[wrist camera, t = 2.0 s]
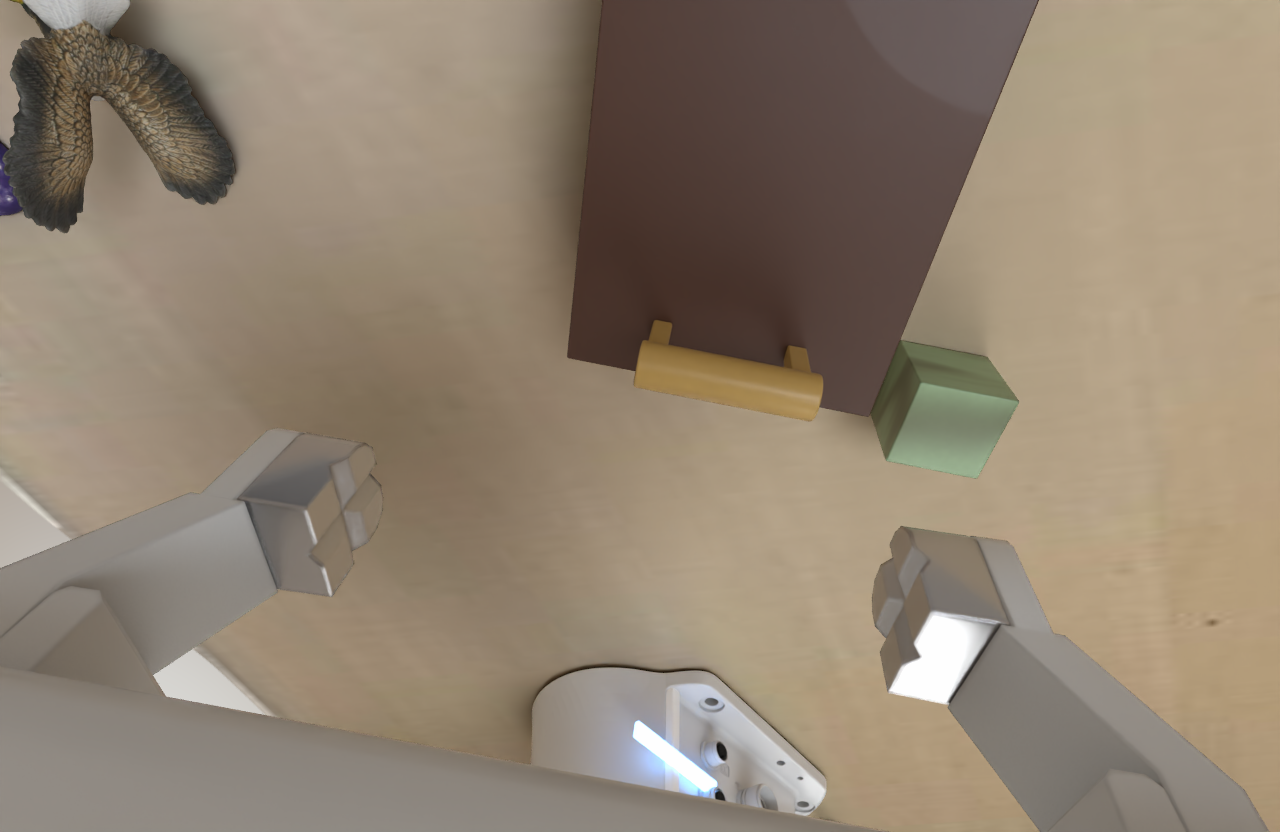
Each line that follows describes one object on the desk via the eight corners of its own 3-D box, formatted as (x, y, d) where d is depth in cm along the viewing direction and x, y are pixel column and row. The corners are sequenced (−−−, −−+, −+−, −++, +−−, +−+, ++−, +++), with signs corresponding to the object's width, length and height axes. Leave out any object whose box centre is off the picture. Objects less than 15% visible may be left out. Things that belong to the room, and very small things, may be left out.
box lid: (866, 409, 25) (888, 477, 22) (570, 351, 26) (541, 408, 22) (1099, -168, 16) (1205, -220, 12) (630, -246, 16) (598, -320, 13)
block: (951, 429, 31) (977, 479, 28) (869, 413, 31) (885, 461, 28) (988, 356, 29) (1020, 401, 26) (899, 339, 29) (920, 382, 26)
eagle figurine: (-39, 7, 26) (71, 237, 29) (-169, -71, 19) (-12, 234, 22) (177, -11, 28) (257, 203, 31) (124, -86, 22) (231, 192, 25)
